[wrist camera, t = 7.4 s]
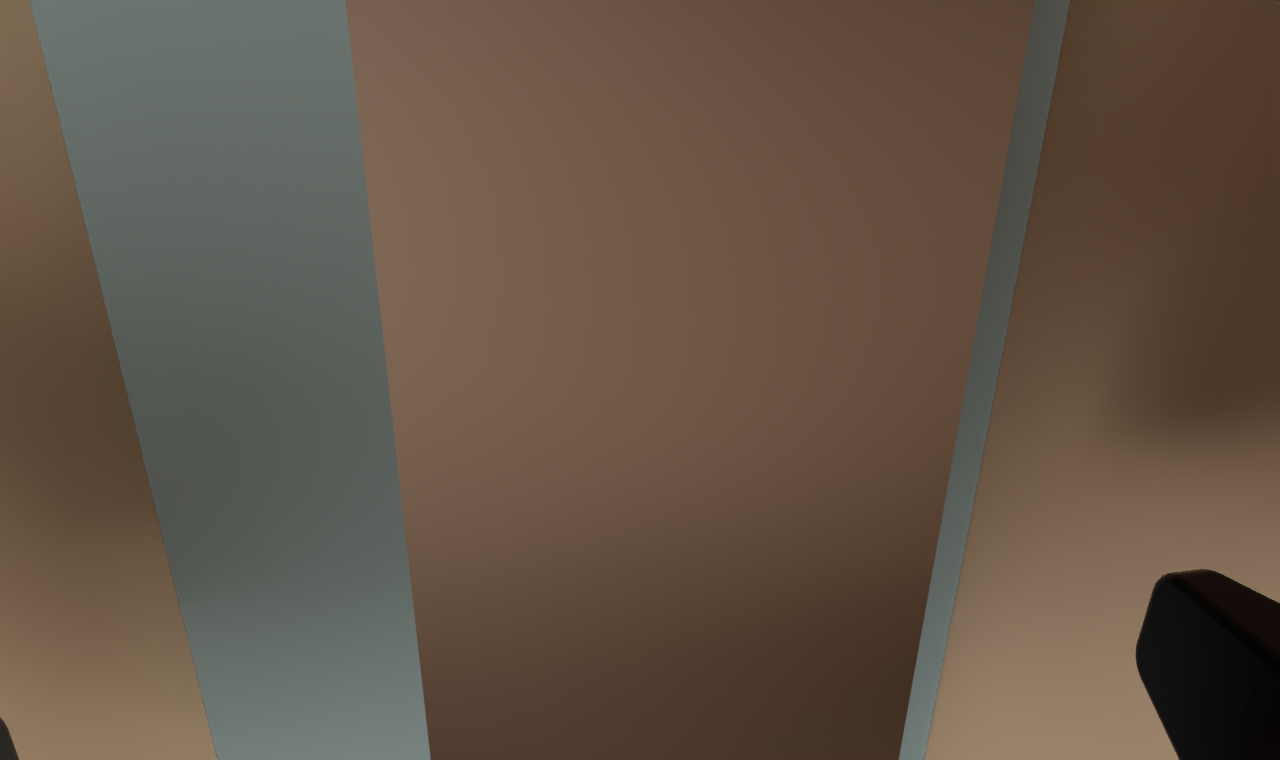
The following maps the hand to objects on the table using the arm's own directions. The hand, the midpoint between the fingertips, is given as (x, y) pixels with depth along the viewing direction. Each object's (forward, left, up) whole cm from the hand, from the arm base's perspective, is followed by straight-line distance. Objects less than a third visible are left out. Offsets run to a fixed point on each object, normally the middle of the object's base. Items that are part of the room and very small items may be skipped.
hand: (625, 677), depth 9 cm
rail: (0, 0, -1) cm, 1 cm away
